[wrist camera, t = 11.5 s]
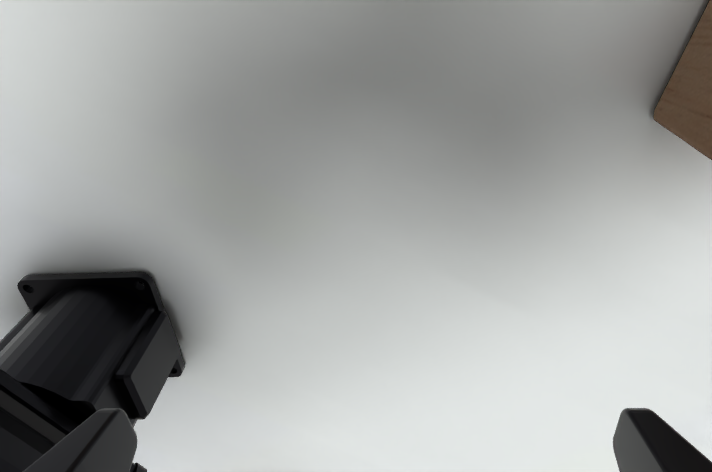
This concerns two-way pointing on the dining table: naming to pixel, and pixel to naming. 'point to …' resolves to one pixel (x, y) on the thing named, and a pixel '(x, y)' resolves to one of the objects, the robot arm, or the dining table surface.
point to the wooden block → (691, 91)
